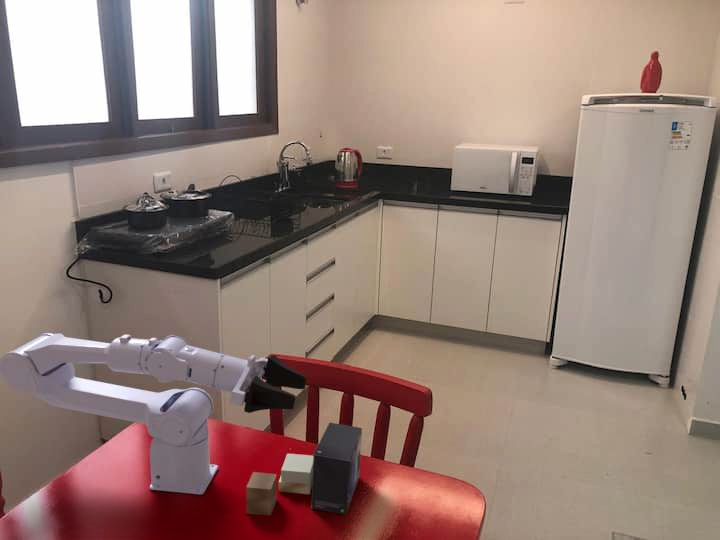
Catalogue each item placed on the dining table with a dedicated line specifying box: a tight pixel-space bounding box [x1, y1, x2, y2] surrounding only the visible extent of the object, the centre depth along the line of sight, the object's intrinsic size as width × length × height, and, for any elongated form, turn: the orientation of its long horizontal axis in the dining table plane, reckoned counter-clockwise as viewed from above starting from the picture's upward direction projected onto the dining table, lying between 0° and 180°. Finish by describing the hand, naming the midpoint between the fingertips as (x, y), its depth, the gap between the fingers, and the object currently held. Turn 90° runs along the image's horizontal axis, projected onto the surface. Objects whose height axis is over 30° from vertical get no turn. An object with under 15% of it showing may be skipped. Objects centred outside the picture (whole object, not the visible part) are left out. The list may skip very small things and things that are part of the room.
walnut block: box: [245, 471, 278, 517], centre depth 94 cm, size 4×4×5 cm
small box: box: [310, 422, 363, 515], centre depth 97 cm, size 11×6×10 cm, turn 168°
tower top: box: [280, 453, 313, 484], centre depth 100 cm, size 5×5×2 cm
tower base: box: [278, 474, 313, 495], centre depth 101 cm, size 6×6×2 cm
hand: (300, 392), depth 93 cm, fingers open, 7 cm apart
